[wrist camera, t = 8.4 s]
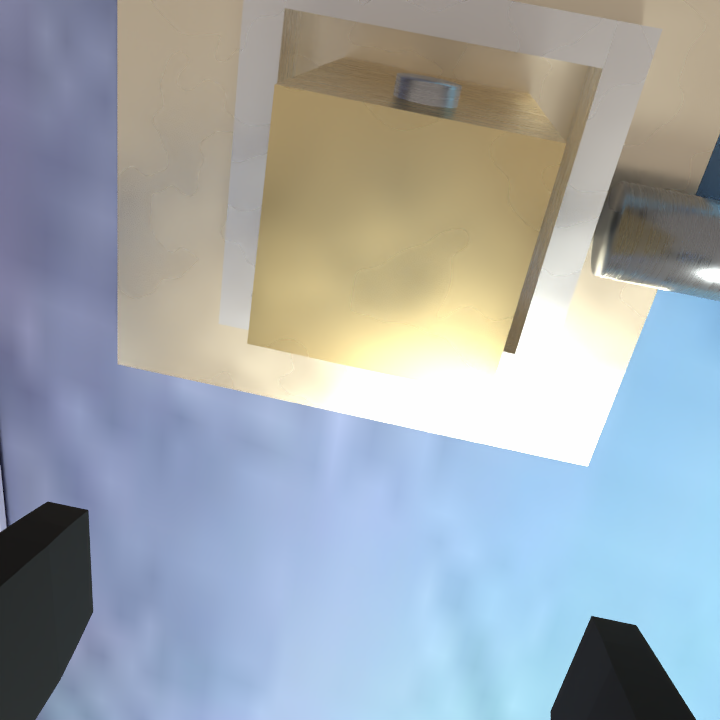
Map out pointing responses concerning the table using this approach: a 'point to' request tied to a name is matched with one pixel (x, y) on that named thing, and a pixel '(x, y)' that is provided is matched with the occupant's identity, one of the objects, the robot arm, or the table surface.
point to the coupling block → (399, 220)
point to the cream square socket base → (452, 60)
